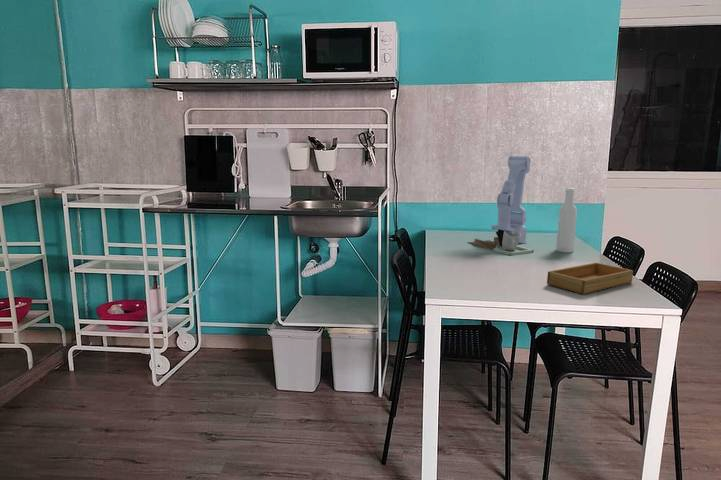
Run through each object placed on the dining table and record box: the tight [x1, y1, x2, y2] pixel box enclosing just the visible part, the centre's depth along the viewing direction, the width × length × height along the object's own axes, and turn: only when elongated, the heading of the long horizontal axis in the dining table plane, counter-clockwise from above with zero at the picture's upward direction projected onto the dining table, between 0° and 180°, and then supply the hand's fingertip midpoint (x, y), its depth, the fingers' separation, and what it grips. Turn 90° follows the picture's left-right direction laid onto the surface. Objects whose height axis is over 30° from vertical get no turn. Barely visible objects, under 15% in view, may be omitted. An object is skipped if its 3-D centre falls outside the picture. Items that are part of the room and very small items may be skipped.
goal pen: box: [493, 245, 534, 256], centre depth 253 cm, size 14×11×1 cm
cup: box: [501, 230, 521, 251], centre depth 253 cm, size 11×8×8 cm
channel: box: [473, 236, 500, 251], centre depth 264 cm, size 14×14×3 cm
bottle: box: [555, 187, 578, 254], centre depth 253 cm, size 8×8×30 cm
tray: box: [546, 262, 634, 295], centre depth 198 cm, size 31×15×6 cm, turn 125°
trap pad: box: [467, 239, 495, 246], centre depth 273 cm, size 14×5×1 cm, turn 117°
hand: (502, 246), depth 260 cm, fingers closed
